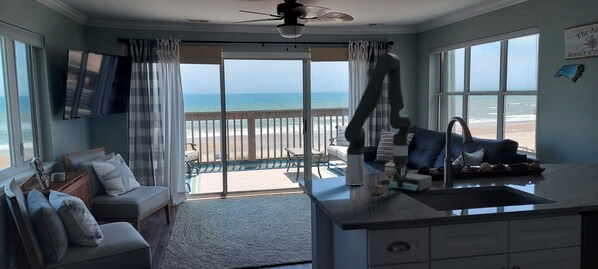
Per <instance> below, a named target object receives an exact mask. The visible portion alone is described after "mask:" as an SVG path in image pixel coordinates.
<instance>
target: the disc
mask: <svg viewBox="0 0 598 269" xmlns="http://www.w3.org/2000/svg"><path fill="white" fill-rule="evenodd" d="M403 183H405V184H412V185H414V182H413V181H403Z"/></svg>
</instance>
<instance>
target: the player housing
mask: <svg viewBox="0 0 598 269" xmlns="http://www.w3.org/2000/svg"><path fill="white" fill-rule="evenodd" d="M404 180H409V181H417V182H418V188H417V190H419V191H418V192H422V191H424V190H423V189H425V190H428V189H430V187H431V188H433V187H432V175H425V174H418V173H417V174H416V173H410V172H409V173H407V175H406V178H404ZM392 182H397V180H395V179H394V177H393V181H392ZM427 188H428V189H427ZM421 190H422V191H421Z"/></svg>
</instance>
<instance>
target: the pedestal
mask: <svg viewBox="0 0 598 269" xmlns="http://www.w3.org/2000/svg"><path fill="white" fill-rule="evenodd" d="M373 191H374V192H373V194H374V193H378V194H380V195H382V194H383V185H382V184H375V185H374V186H373ZM381 193H382V194H381Z"/></svg>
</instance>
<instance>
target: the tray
mask: <svg viewBox="0 0 598 269" xmlns="http://www.w3.org/2000/svg"><path fill="white" fill-rule="evenodd" d="M403 181H409V180H403ZM413 182H414V185H412V184H405V183H403V187H402V188H400V190H401V189H402V190H410V191H414V192H415V191H416V190H417V188H418V182H417V181H413ZM388 183H389V185H388V186H389V187H391V188H396V189H399V188H398V187H397V182H393V181H388Z"/></svg>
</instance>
